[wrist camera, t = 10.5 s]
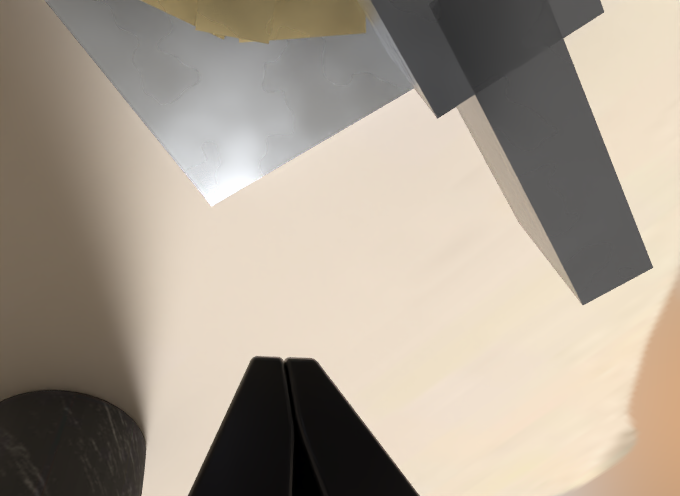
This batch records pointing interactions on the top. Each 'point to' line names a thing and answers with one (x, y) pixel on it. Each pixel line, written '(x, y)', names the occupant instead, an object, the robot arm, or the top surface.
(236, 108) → the flange
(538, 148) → the grey and tan model
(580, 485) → the top surface
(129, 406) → the top surface
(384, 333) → the top surface
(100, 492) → the travel mug
